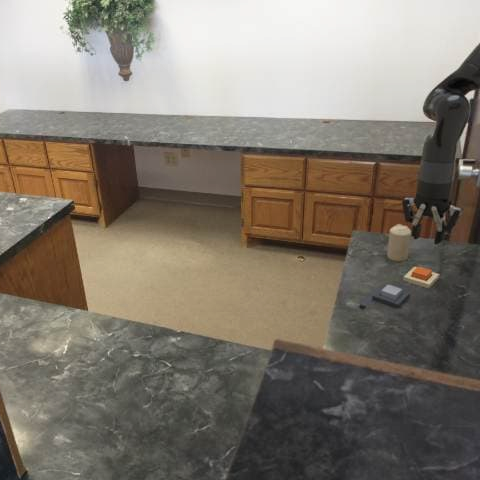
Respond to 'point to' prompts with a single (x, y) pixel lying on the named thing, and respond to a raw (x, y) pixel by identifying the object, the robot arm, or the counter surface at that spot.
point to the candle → (399, 243)
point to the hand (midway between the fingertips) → (426, 240)
